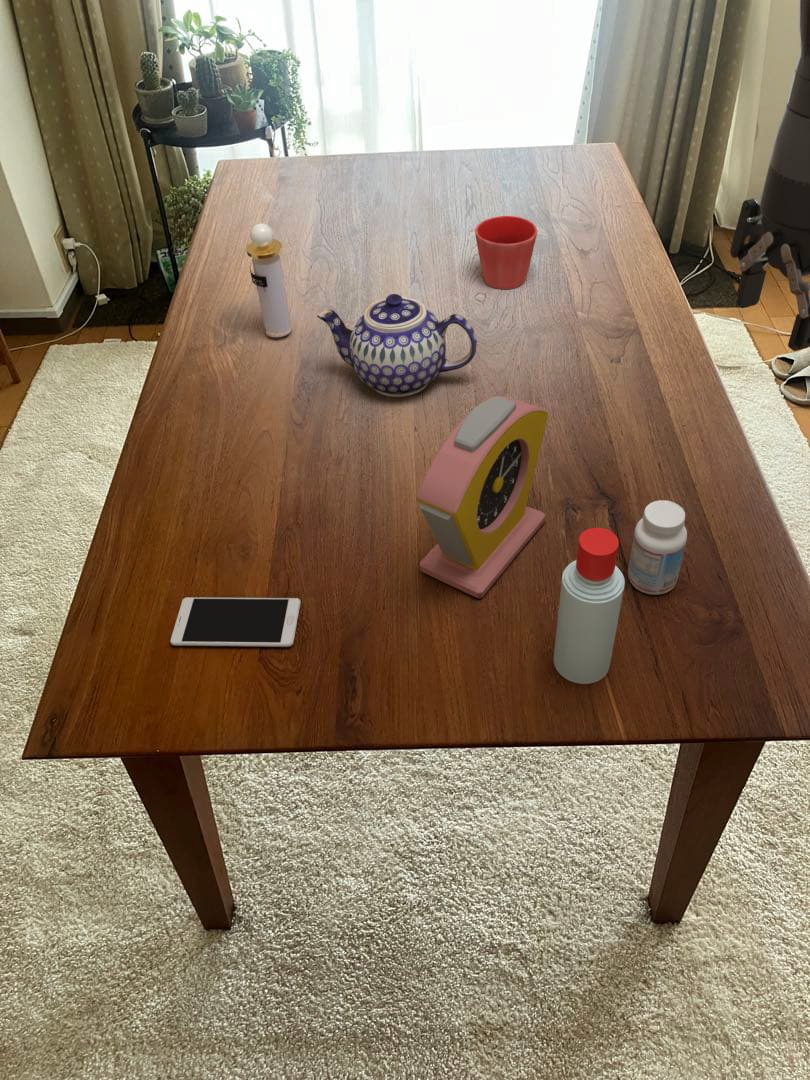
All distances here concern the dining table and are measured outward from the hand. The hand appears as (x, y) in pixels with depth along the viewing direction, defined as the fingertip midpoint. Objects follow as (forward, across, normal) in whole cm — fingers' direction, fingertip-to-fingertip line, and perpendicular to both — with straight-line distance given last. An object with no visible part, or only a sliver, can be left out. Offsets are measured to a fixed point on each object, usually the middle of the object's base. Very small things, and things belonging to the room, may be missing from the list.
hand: (771, 325), depth 88 cm
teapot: (+34, +53, +23) cm, 67 cm away
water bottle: (+34, -8, +22) cm, 41 cm away
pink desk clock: (+34, +13, +25) cm, 44 cm away
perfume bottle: (+34, +74, +38) cm, 90 cm away
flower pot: (+34, +75, -5) cm, 83 cm away
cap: (+18, -8, +22) cm, 29 cm away
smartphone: (+34, +12, +58) cm, 68 cm away
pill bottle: (+34, 0, +8) cm, 35 cm away
